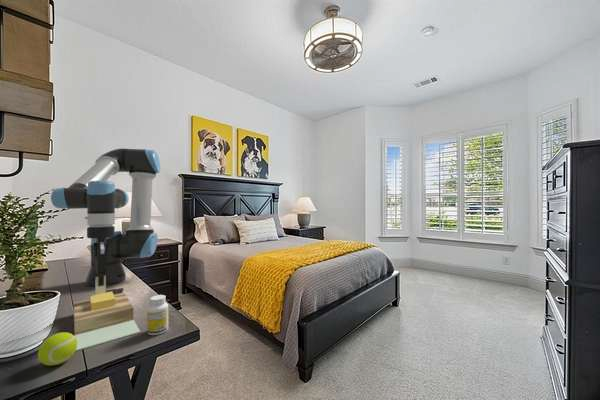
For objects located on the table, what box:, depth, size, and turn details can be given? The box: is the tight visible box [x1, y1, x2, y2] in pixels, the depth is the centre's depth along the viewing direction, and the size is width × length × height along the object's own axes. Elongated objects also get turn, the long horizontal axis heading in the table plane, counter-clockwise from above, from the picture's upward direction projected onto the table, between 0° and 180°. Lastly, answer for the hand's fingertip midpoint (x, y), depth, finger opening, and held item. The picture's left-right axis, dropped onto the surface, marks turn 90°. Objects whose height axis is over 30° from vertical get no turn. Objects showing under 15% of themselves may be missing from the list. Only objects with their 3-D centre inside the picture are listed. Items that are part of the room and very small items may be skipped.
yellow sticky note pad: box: [89, 292, 115, 311], centre depth 85 cm, size 9×6×2 cm, turn 42°
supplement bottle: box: [146, 294, 170, 336], centre depth 75 cm, size 5×5×10 cm
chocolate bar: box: [106, 287, 124, 295], centre depth 101 cm, size 9×1×18 cm
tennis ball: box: [37, 331, 77, 367], centre depth 60 cm, size 7×7×7 cm
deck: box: [73, 292, 134, 336], centre depth 84 cm, size 18×14×4 cm
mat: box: [74, 319, 141, 352], centre depth 73 cm, size 10×14×1 cm
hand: (100, 294), depth 88 cm, fingers closed
